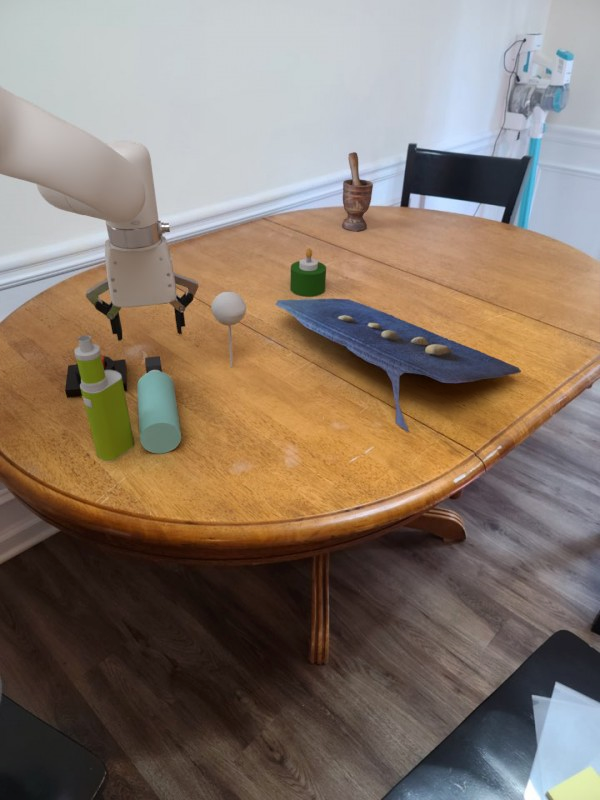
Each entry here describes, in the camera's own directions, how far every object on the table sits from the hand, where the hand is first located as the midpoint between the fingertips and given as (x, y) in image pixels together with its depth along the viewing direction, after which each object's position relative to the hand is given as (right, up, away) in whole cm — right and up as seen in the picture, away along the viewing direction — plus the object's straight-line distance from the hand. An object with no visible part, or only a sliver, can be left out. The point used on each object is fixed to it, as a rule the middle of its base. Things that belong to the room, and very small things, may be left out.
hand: (150, 333), depth 94 cm
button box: (-11, -8, +6) cm, 15 cm away
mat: (+41, -3, +16) cm, 44 cm away
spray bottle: (+4, -17, -10) cm, 20 cm away
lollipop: (+12, -5, +12) cm, 18 cm away
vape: (-3, -19, -8) cm, 21 cm away
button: (-11, -5, +5) cm, 13 cm away
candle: (+27, +15, +40) cm, 51 cm away
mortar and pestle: (+41, +42, +78) cm, 97 cm away
